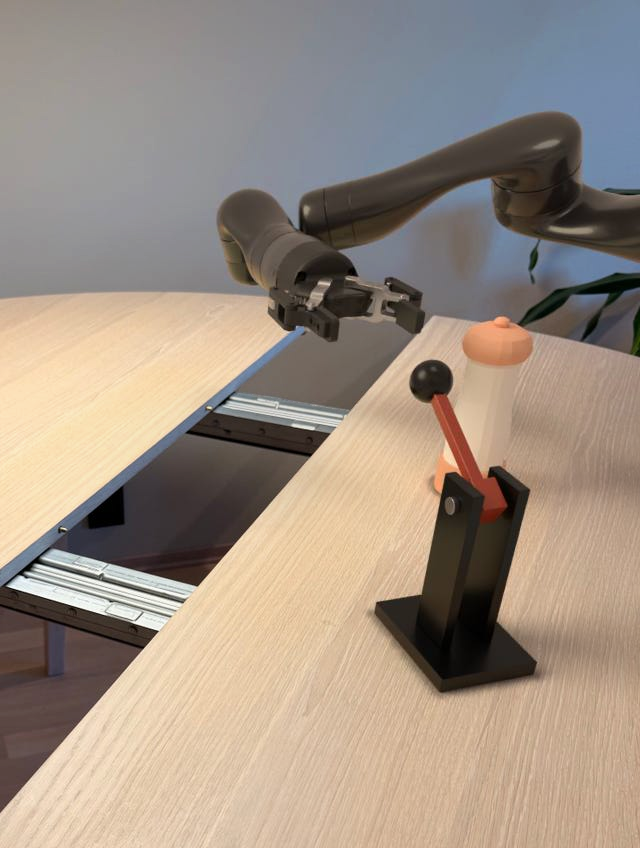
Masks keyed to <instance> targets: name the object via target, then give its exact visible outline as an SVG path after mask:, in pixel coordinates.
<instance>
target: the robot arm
mask: <svg viewBox="0 0 640 848" xmlns="http://www.w3.org/2000/svg"><path fill="white" fill-rule="evenodd" d="M583 137H584V136H583V130H582V127H581V125H580V122H579V121H578V120H577V119H576V117H574V116H572V115H571V114H569V113H567V112H564V111H560V110H541V111H535V112H532V113H531V112H530V113H528V114H524V115H521V116H518V117H514V118H512V119H509V120H505V121H503V122H501V123H499V124H496V125H494V126H491V127H489V128H486V129H484V130H481V131H478V132H476V133H474V134H472V135H469V136H467V137H464V138H461V139H460V140H457V141H454V142H452V143H450V144H447V145H446V146H445V145H444V146H443V147H441V148H438V149H436V150H434V151H431V152H428V153H427V154H425V155H421V156H420V157H418V158H415V159H413V160H411V161H408V162H405V163H403V164H401V165H398V166H395V167H392V168H390V169H387V170H384V171H383V170H382V171H381V172H378V173H374V174H370V175H367V176H363V177H359V178H355V179H351V180H347V181H343V182H339V183H334V184H330V185H327V186H323V187H319V188H316V189H311V190H309V191H306V192H304V194H302V195H301V197H300V198H299V201H298V208H297V228H296V227H295V225H294V223H293V221H292V219H291V218H290V216H289V215H288V213H287V212H286V210H285V209H284V207H283V206H282V205H281V204H280V202H279V200H277V198H275V197H274V196H273V195H272V194H270V193H269V192H267V191H264V190H262V189H258V188H253V187H252V188H251V187H250V188H249V187H248V188H241V189H238V190H236V191H234V192H231V193H230V194H229V195H227V196H226V197H225V198H224V199H223V200H222V202H221V203H220V205H219V207H218V208H217V211H216V217H215V219H216V220H215V221H216V228H217V232H218V236H219V239H220V243H221V247H222V250H223V254H224V255H223V256H224V258H225V263H226V267H227V270H228V273H229V276H230V277H231V279H232V280H233V281H234V282H235V283H237V284H239V285H241V286H246V287H259V286H260V287H261V288H263V290H265V291H266V292H268V300H267V302H268V303H267V314H268V316H269V317H270V318H272V320H273V321H274V322H275V323H276V324H277V325H278V326H279V327H280V328H281V329H282V330H284V331H285V332H295V331H296V330H297V327H302V330H303V331H304V332H307V333H311V332H312V333H314V334H315V335H317V336H318V337H319V338H321V339H323V340H325V341H326V342H327V343H336V342H338V340H339V334H340V333H339V332H340V326H341V325H340V324H341V321H340V319H341V320H346V321H353V320H358V321H361V322H366V323H371V324H379V323H380V322H382V321H387V322H391V323H394V324H396V325H398V326H399V327H400V328H402V329H403V330H405V331H406V332H407V333H409V334H411V335H419V334H421V333H422V330H423V329H424V324H425V318H426V317H425V316H426V311H424V310H423V309H421V307H422V301H423V294H424V293H423V292H422V291H420V290H418V289H416V288H415V287H413V286H411V285H409V284H407V283H405V282H404V281H401V280H400V279H398V278H396V277H394V276H387V277H385V278H384V281H383V283H378V282H377V283H376V282H373V281H367V280H364V279H363V278H362V277H361V276H359V273H358V271H357V269H356V267H355V265H354V263H353V262H352V261H351V259H350V258H349V257H348V256H346V255H345V254H343V253H342V252H340V251H345V250H348V249H352V248H356V247H361V246H364V245H368V244H369V245H370V244H372V243H375V242H378V241H380V240H382V239H385V238H386V237H389V236H391V235H392V234H394V233H396V232H397V231H398V230H401V228H403V227H404V226H405V225H406V224H408V223H409V222H410V221H412V220H413V219H414V218H415V217H416V216H417V215H419V214H420V213H421V212H422V211H424V210H425V209H427V208H428V207H429V206H430V205H432V204H433V203H434V202H436V201H437V200H439V199H441V198H442V197H444V196H445V195H447V194H448V193H450V192H452V191H454V190H456V189H458V188H461V187H463V186H465V185H469V184H471V183H475V182H480V181H484V180H488V179H490V191H491V192H490V193H491V194H490V195H491V204H492V210H493V213H494V217H495V219H496V220H497V222H498V223H499V224H500V225H501V227H503V228H505V229H507V230H508V231H510V232H512V233H513V234H517V235H519V236H524V237H528V238H532V239H536V240H541V241H546V242H551V243H552V242H553V243H557V244H562V245H565V246H572V247H576V248H582V249H587V250H590V251H595V252H599V253H603V254H606V255H609V256H614V257H617V258H621V259H624V260H628V261H631V262H634V263H637V264H640V194H635V195H633V194H632V195H631V194H630V195H625V194H620V193H613V192H608V191H604V190H601V189H597V188H595V187H592V186H590V185H588V184H586V183H584V181H583V149H584V147H583V144H584V142H583V139H584V138H583ZM373 301H374V307H373V312H368V310H369V309H370V307H371V306H372V304H373ZM387 308H389V309H390V310H392V311H393V312H390V311H388V310H387Z"/></svg>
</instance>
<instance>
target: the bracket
mask: <svg viewBox="0 0 640 848" xmlns="http://www.w3.org/2000/svg"><path fill="white" fill-rule="evenodd" d="M492 477H495V478H496V480H497V483H498V485H499V487H500V490H501V492H502V494H503V496H504V499H505V501H506V503H507V505H508V506H507V508H506V509H505V510H504V511H503V512H502V513H501V515H500V516H499V517H498V518H497V519H496V520H495V521H494V522H489V523H483V524H479V521H480V517H481V512H482V508H483V504H484V499H485V496H484V495H483V494H482V493H481V492H480V491H478V490H477V489H476V488H475V487H474V486H473V485H471V484H470V483H469V482H468V481H467V480H465V479H464V478H463V477H462V476H461V475H459V474H458V473H457V472H449V473H445V478H444V483H443V488H442V493H441V494H440V499H439V502H438V509H437V513H436V519H435V522H434V528H433V534H432V539H431V543H430V548H429V555H428V558H427V563H426V568H425V573H424V578H423V584H422V588H421V593H420V594H413V595H408V596H403V597H397V598H390V599H384V600H379V601H375V605H374V612H373V613H374V615H375V616H376V617H377V619H378V620H379V621H380V622H381V623H382V624H383V626H384V627H385V628H386V629H387V630H388V632H389V633H390V634H391V635H392V637H393V638H394V639H395V640H396V641H397V643H398V644H399V645H400V646H401V647H402V649H403V650H404V651H405V653H406V654H408V656H409V657H410V658H411V660H412V661H413V662H414V663H415V664H416V665H417V667H418V668H419V669H420V670H421V672H422V673H423V675H425V677H426V678H427V679H428V680H429V681H430V683H431V684H432V685H433V686H434V687H435V689H436V690H437V691H438V692H439V693H442V692H447V691H448V692H449V691H452V690H457V689H463V688H469V687H473V686H479V685H483V684H488V683H494V682H500V681H504V680H509V679H515V678H520V677H525V676H530V675H534V674H535V671H536V668H537V665H538V661H537V660H536V659H535V658H534V657H533V656H532V655H531V654H530V653H529V652H528V651H527V650H526V649H525V648H524V647H523V646H522V645H521V644H520V643H519V642H518V641H517V640H516V639H515V638H514V637H513V636H512V635H511V634H510V633H509V632H508V631H507V630H506V628H504V627H503V626H502V625H501V624H500V622H498V617H499V614H500V609H501V607H502V602H503V598H504V594H505V590H506V586H507V582H508V579H509V576H510V572H511V571H510V570H511V568H512V563H513V560H514V556H515V552H516V548H517V545H518V540H519V536H520V533H521V529H522V525H523V521H524V517H525V513H526V511H527V510H526V509H527V505H528V502H529V498H530V494H531V489H530V488H529V487H528V486H526V485H525V484H524V483H523V482H521V481H520V480H519V479H518V478H516V476H514V475H513V474H511V473H510V472H509V471H507V469H503V468H502V467H501V466H493V467H489V471H488V476H487V478H492Z"/></svg>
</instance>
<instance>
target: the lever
mask: <svg viewBox="0 0 640 848" xmlns="http://www.w3.org/2000/svg"><path fill="white" fill-rule="evenodd" d="M408 381H409V382H408V386H409V390H410V393H411V395H412V396H413V397H414V398H415V399H416V400H417V401H419V402H421V403H423V404H429V405H431V408H432V409H433V411H434V414H435V416H436V419H437V421H438V423H439V426H440V428H441V431H442V433H443V435H444V437H445V440H447V442H448V445H449V447H450V449H451V452H452V454H453V456H454V459H455V461H456V463H457V466H458V468H459V470H460V473H461V475H462V477H463V478H464V479H465V480H467V481H468V482H469V483H470V484H471V485H473V486H474V487H475V488H476V489H477V490H478V491H480V492H481V493H482V494H483V495H484V496H485V499H484V504H483V508H482V512H481V517H480V521H479V524H483V523H489V522H494V521H495V520H496V519H497V518H498V517H499V516H500V515H501V513H502V512H503V511H504V510H505V509H506V508H507V506H508V505H507V503H506V501H505V499H504V496H503V494H502V492H501V490H500V487H499V485H498V483H497V480H496V478H495V477H492V478H485V479H483V477H482V475H481V472H480V470H479V468H478V466H477V463H476V461H475V459H474V456H473V454H472V452H471V450H470V447H469V445H468V443H467V440H466V438H465V436H464V433H463V431H462V429H461V427H460V424H459V422H458V420H457V417H456V415H455V413H454V408H453V406H452V403H451V402H450V399H449V397H448V395H449V394H450V393H451V391H452V389H453V386H454V374H453V371H452V369H451V368H450V366H449V365H448V364H446V362H443V361H442V360H439V359H427V360H423V361H421V362H420V363H419V364H417V365H416V366H415V367H414V368H413V370H412V371H411V373H410V376H409V379H408Z"/></svg>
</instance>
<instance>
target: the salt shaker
mask: <svg viewBox="0 0 640 848" xmlns="http://www.w3.org/2000/svg"><path fill="white" fill-rule="evenodd" d="M461 347H462V351H463V353H464V355H465V356H466V362H465V366H464V371H463V372H464V373H463V374H462V375H463V376H462V381H461V386H460V390H459V394H458V397H457V400H456V402H455V404H454V405H455V406H454V408H453V411H454V413H455V415H456V417H457V420H458V422H459V424H460V427H461V429H462V431H463V433H464V436H465V438H466V440H467V443H468V445H469V447H470V450H471V452H472V454H473V456H474V459H475V461H476V463H477V466H478V468H479V470H480V472H481V475H482V477H483V479H485V478H487V476H488V471H489V467H493V466H501V467H502V468H503V469H505V470H507V469H506V468H507V462H506V460H505V457H506V453H507V449H508V446H509V442H510V438H511V434H512V420H513V419H512V418H513V405H514V404H513V403H514V396H515V392H516V387H517V383H518V382H517V381H518V378H519V374H520V370H521V365H522V364H523V363H524V362H526V361H527V360H528V359H529V358H530V356H531V354H532V353H533V349H534V340H533V338H532V336H531V333H530V332H529V331H528V330H527V329H525V328H523V327H522V326H520V325H518V324H517V323H513V322H511V320H510V318H508V317H506V316H498V317H496V318H494V319H493V320H487V321H483V322H479V323H475V324H474V325H472V326H471V327H470V328H468V330H467V331H466V332H465V334H464V336H463V338H462V340H461ZM443 447H444V448H443V450H442V451H441V452H440V453H439V456H438V460H437V465H436V469H435V474H434V479H433V487H434V489H435V490H436V491H437V492H438V493H439V494H440V495H441V493H442V488H443V483H444V478H445V473H449V472H457V473H458V474H459V475H461V473H460V470H459V468H458V466H457V463H456V461H455V459H454V456H453V454H452V452H451V449H450V447H449V445H448V442H447V440H446V439H445V441H444V446H443ZM461 476H462V475H461Z"/></svg>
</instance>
